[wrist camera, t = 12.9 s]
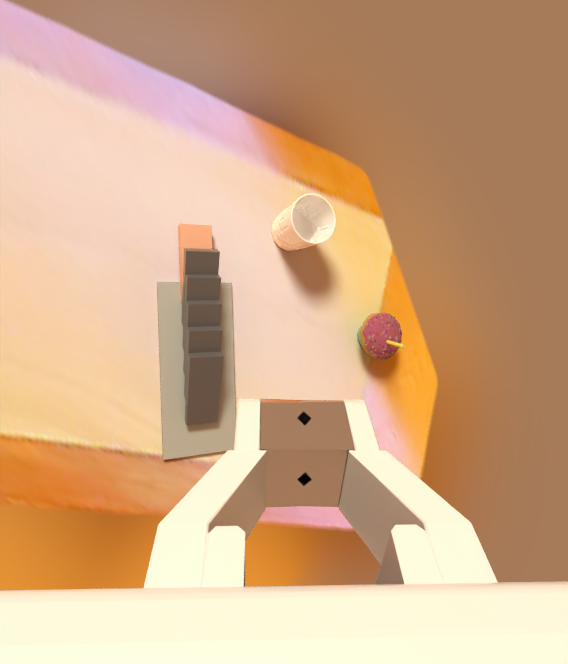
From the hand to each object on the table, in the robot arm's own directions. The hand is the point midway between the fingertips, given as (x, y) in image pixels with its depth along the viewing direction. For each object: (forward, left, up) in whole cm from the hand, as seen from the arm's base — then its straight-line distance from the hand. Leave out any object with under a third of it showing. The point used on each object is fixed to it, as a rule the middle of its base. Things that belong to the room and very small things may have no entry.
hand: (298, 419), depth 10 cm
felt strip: (+10, -4, -61) cm, 62 cm away
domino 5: (+10, -9, -60) cm, 61 cm away
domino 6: (+10, -13, -60) cm, 62 cm away
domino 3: (+10, -1, -60) cm, 60 cm away
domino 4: (+10, -5, -60) cm, 61 cm away
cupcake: (+43, 0, -61) cm, 75 cm away
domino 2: (+10, +3, -59) cm, 60 cm away
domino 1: (+10, +7, -59) cm, 61 cm away
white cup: (+27, +19, -61) cm, 70 cm away
